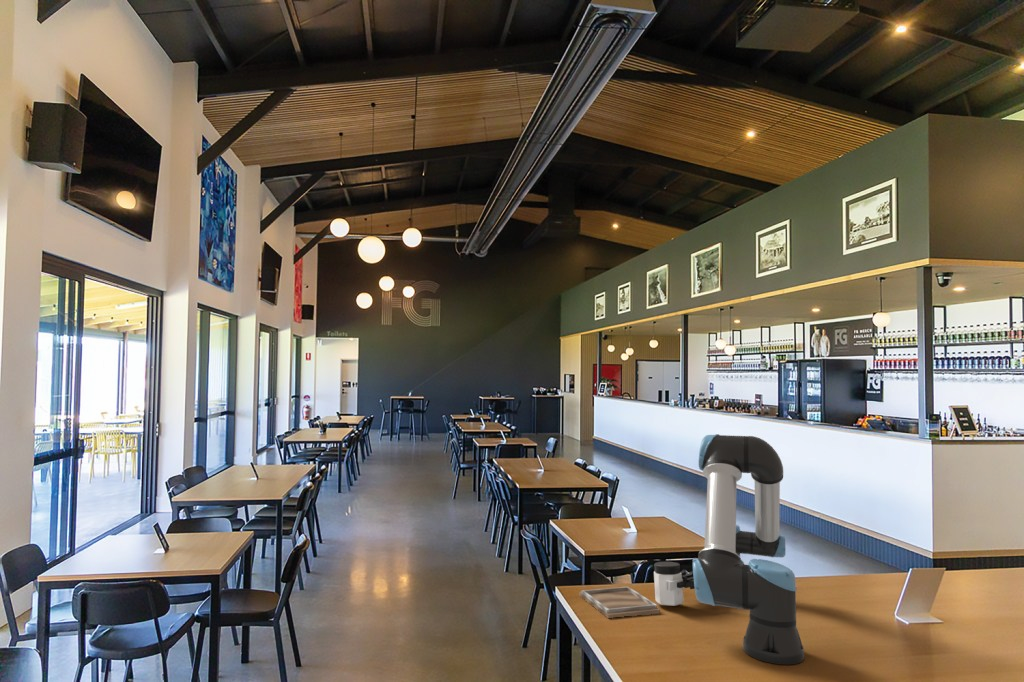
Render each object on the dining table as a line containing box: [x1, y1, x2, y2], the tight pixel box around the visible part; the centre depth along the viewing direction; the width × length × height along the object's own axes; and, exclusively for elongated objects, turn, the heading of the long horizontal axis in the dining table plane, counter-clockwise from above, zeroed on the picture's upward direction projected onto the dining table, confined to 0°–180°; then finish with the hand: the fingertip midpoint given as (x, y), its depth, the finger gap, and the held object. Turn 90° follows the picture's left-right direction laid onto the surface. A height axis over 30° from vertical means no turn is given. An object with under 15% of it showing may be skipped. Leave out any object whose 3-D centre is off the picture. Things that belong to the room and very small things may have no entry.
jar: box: [653, 561, 685, 607], centre depth 202 cm, size 9×8×12 cm
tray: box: [578, 586, 661, 619], centre depth 202 cm, size 22×18×2 cm
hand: (667, 585), depth 196 cm, fingers closed on jar
